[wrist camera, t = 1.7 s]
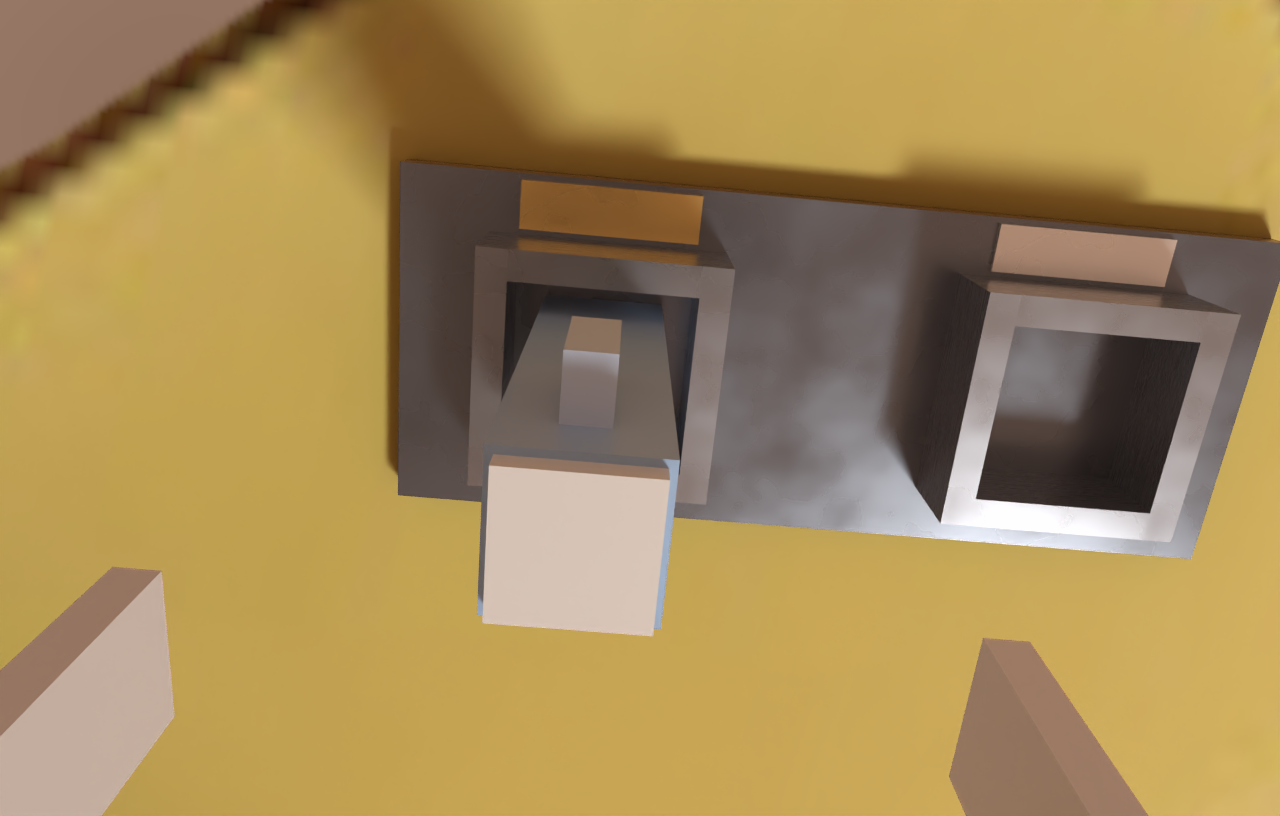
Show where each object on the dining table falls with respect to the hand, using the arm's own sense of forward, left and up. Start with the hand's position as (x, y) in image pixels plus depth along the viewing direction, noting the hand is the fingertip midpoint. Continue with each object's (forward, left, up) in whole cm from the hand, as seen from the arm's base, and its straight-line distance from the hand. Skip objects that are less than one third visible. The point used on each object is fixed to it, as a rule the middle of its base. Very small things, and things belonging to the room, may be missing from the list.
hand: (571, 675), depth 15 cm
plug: (0, 0, -19) cm, 19 cm away
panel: (+8, 0, -20) cm, 21 cm away
